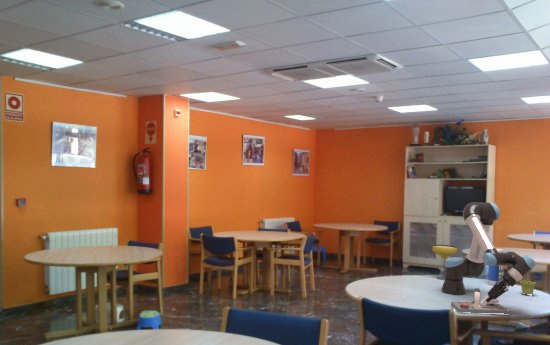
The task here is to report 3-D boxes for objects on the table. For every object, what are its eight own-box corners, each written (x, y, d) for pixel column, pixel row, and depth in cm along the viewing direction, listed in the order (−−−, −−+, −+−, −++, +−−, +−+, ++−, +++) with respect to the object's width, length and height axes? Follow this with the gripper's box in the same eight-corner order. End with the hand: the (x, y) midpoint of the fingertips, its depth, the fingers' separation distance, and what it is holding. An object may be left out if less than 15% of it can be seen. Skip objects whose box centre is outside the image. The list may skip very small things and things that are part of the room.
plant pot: (530, 293, 327) (530, 280, 327) (538, 296, 318) (538, 284, 318) (517, 293, 327) (517, 280, 327) (524, 296, 317) (525, 283, 317)
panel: (459, 313, 273) (459, 304, 273) (451, 305, 289) (451, 297, 289) (509, 315, 271) (509, 307, 271) (498, 307, 287) (498, 300, 287)
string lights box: (498, 286, 346) (499, 251, 346) (487, 284, 351) (488, 249, 351) (503, 283, 356) (504, 249, 356) (492, 282, 361) (493, 248, 361)
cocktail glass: (460, 279, 367) (461, 247, 367) (449, 282, 354) (450, 249, 354) (438, 275, 380) (439, 244, 380) (427, 278, 367) (428, 245, 368)
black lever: (474, 304, 283) (474, 289, 283) (472, 302, 286) (472, 288, 286) (481, 304, 283) (481, 289, 283) (479, 303, 286) (479, 288, 286)
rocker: (488, 304, 282) (487, 301, 282) (485, 302, 286) (485, 299, 286) (498, 302, 281) (498, 299, 281) (496, 301, 285) (495, 297, 285)
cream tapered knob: (474, 308, 274) (474, 292, 274) (472, 306, 277) (472, 291, 277) (481, 308, 274) (481, 293, 274) (479, 306, 277) (479, 291, 277)
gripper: (521, 284, 267) (490, 312, 269) (511, 279, 280) (482, 306, 282) (512, 274, 268) (481, 303, 269) (502, 270, 281) (473, 297, 282)
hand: (481, 304), depth 275 cm, fingers closed
